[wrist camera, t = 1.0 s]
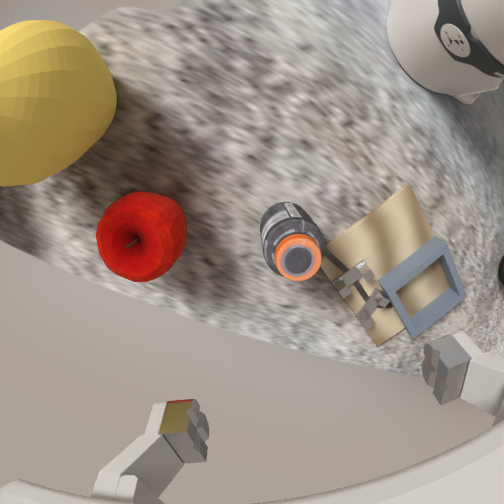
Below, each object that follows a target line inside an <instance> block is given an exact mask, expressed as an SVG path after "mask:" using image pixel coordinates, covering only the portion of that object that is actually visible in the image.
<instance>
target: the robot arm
mask: <svg viewBox="0 0 504 504" xmlns="http://www.w3.org/2000/svg"><path fill="white" fill-rule="evenodd" d="M389 2H390V9H389V13H388V16H387V23H386V28H387V36H388V40H389V43H390V46H391V49H392V51H393V53H394V55H395V57H396V58H397V60H398V62H399V63H400V65H401V66H402V67H403V69H404V70H405V71H406V72H407V73H408V74H409V75H410V76H411V77H412V78H413V79H414V80H415V81H416V82H418V83H419V84H420V85H422V86H423V87H425V88H427V89H429V90H431V91H433V92H436V93H440V94H446V95H450V96H453V97H454V98H456V99H457V100H458V101H460V102H461V103H463V104H465V105H469V104H473V103H474V102H475V100H476V99H477V98H478V96H479V95H480V94H481V92H487V91H492V90H496V89H498V88H499V85H500V84H501V83H502V81H503V80H504V0H389ZM423 353H424V354H425V355H426V357H425V359H424V360H423V362H422V372H423V377H424V379H425V381H426V383H427V384H428V385H429V386H431V387H434V391H433V394H434V396H435V397H436V399H437V400H438V402H439V403H440V405H442V404H445V403H447V402H450V401H452V400H454V399H457V398H459V397H460V398H461V399H463V400H465V401H466V402H468V403H470V404H472V405H474V406H476V407H478V408H480V409H482V410H483V411H485V412H487V413H489V414H491V415H493V416H495V417H496V419H495V420H494V423H493V425H492V427H491V428H489V429H488V430H486V431H484V432H482V433H481V434H479V435H477V436H475V437H473V438H471V439H469V440H467V441H466V442H463V443H461V444H460V445H458V446H455V447H453V448H451V449H449V450H447V451H445V452H443V453H441V454H438V455H436V456H434V457H432V458H429V459H427V460H424V461H422V462H420V463H417V464H415V465H412V466H410V467H407V468H404V469H401V470H399V471H396V472H393V473H390V474H387V475H385V476H381V477H378V478H375V479H372V480H368V481H365V482H362V483H358V484H355V485H351V486H348V487H344V488H340V489H336V490H332V491H327V492H323V493H318V494H314V495H309V496H303V497H297V498H291V499H286V500H278V501H271V502H262V503H253V504H504V357H502V356H498V355H495V354H492V353H488V352H486V353H483V352H482V351H481V350H480V349H479V348H478V347H477V346H476V344H475V343H474V342H473V341H472V340H471V339H470V338H469V337H468V336H467V335H466V334H465V333H464V332H463V331H462V330H458V331H456V332H453V333H451V334H449V335H446V336H444V337H441V338H439V339H436V340H434V341H431V342H429V343H426V344H425V346H424V352H423ZM199 409H200V405H199V403H198V401H197V400H196V399H189V400H176V401H165V402H156V403H155V404H154V405H153V408H152V411H151V414H150V418H149V421H148V424H147V428H146V431H145V435H141V436H139V437H138V438H137V439H136V440H135V441H134V442H133V443H132V444H130V445H129V446H128V447H127V448H126V449H125V450H124V451H123V452H122V453H120V454H119V455H118V456H117V457H116V458H115V459H114V460H112V461H111V462H110V463H109V464H108V465H106V466H105V467H104V468H103V469H102V470H101V471H100V472H99V475H98V477H97V481H96V484H95V486H94V489H93V492H92V495H91V497H87V496H82V495H77V494H72V493H68V492H63V491H59V490H55V489H51V488H47V487H44V486H40V485H37V484H34V483H30V482H27V481H24V480H14V481H12V482H10V483H8V484H7V485H5V486H3V487H2V488H0V504H164V503H163V502H162V501H161V500H160V499H159V498H158V497H159V496H160V495H161V494H162V492H163V491H164V490H165V488H166V487H167V486H168V485H169V483H170V482H171V481H172V480H173V478H174V477H175V476H176V474H177V473H178V472H179V470H180V469H181V468H182V466H183V465H184V464H183V463H196V462H206V459H207V449H208V447H207V445H206V444H205V441H206V440H207V439H208V437H209V426H208V422H207V418H206V416H205V414H204V413H202V412H200V411H199Z"/></svg>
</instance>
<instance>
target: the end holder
mask: <svg viewBox="0 0 504 504" xmlns="http://www.w3.org/2000/svg"><path fill="white" fill-rule="evenodd" d="M437 259H438V260H439V263H440V265H441V267H442V270H443V272H444V274H445V277H446V279H447V282H448V284H449V288H448V289H447V290H445V291H444V292H443V293H442V294H440V295H439V296H438V297H437V298H435V299H434V300H433V301H432V302H430V303H429V304H428V305H426V306H425V307H424V308H423V309H421V310H420V311H419V312H417V313H416V314H415V315H413V316H412V317H411V318H410V317H409V315H408V314H407V312H406V310H405V308H404V306H403V304H402V303H401V301H400V299H399V297H398V295H397V294H396V292H395V291H397V290H398V289H400V288H401V287H402V286H403V285H405V284H406V283H407V282H409V281H410V280H411V279H413V278H414V277H415V276H417V275H418V274H419V273H420V272H422V271H423V270H424V269H425V268H427V267H428V266H429V265H430V264H432V263H433V262H434V261H435V260H437ZM377 281H378V282H379V284H380V286H381V287H382V289H383V291H384V292H385V294H386V296H387V297H388V298H389V300H390V302H391V304H392V306H393V308H394V309H395V311H396V313H397V314H398V316H399V318H400V320H401V321H402V323H403V325H404V327H405V328H406V330H407V331H408V333H409V334H410V335H411V337H412V338H413V339H414V338H415V337H416V336H418V335H419V334H420V333H422V332H423V331H424V330H426V329H427V328H428V327H430V326H431V325H432V324H434V323H435V322H436V321H437V320H439V319H440V318H441V317H443V316H444V315H445V314H446V313H448V312H449V311H450V310H451V309H452V308H454V307H455V306H456V305H457V304H459V303H460V302H461V301H462V300H463V299H464V298H466V294H465V291H464V288H463V285H462V282H461V279H460V277H459V274H458V271H457V269H456V266H455V264H454V261H453V258H452V256H451V253H450V251H449V249H448V246H447V244H446V243H445V242H443V241H442V240H440V239H439V238H437V237H436V236H434V237H433V238H432V239H430V240H429V241H428V242H427V243H426V244H424V245H423V246H422V247H421V248H419V249H418V250H417V251H415V252H414V253H413V254H412V255H410V256H409V257H408V258H406V259H405V260H404V261H403V262H401V263H400V264H399V265H397V266H396V267H395V268H393V269H392V270H391V271H389V272H388V273H387V274H385V275H384V276H383V277H381V278H380V279H379V280H377Z"/></svg>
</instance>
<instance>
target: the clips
mask: <svg viewBox="0 0 504 504" xmlns="http://www.w3.org/2000/svg"><path fill="white" fill-rule="evenodd" d="M362 276H363V277H364V278H365V280H366V281H369V280H370V279H372V278H373V277H374V276H375V275H374V274H373V272H372V270H371V269H370V268H369V266H368V265H367V264H366V262H365V261H364V260H363V259H362V260H361V261H360V262H358V263H357V264H355V265H354V266H353V267H351V268H350V269H349V270H348V271H346V272H345V273H343V274H341V275H340V276H339V277H337V278H336V279H334V280H333V281H332V282H333V284H334V285H335V286H336V288H337V290H338V292H339V293H340V295H341V296H342V297H343V298H345V297H346V296H348V295H349V294H351V291H350V290H349V288H348V286H350V285H351V284H353V283H354V282H355V281H357V280H358V279H360V278H361V277H362ZM389 301H390V300H389V298H388V297H387V296H386V295H385V292H384V291H382V290H380V289H378V288H376V287H375V288H374V290H373V291H372V293H371V294H370V296H369V298H368V299H367V301H366V302H365V303H364V304H363V306H362V307H361V309H360V310H359V311H358V313H357V314H356V318H358V319H359V321H360V322H361V324H362V326H363V327H365V328H368V329H370V328H371V326H372V325H373V324H374V320H373V319H372V317H371V314H372V313H373V311H374V310H375V309H376V307H377V306H378V305H380V306H382V307H384V308H385V307H386V306H387V304H388V303H389Z"/></svg>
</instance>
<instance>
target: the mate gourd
mask: <svg viewBox="0 0 504 504" xmlns="http://www.w3.org/2000/svg"><path fill="white" fill-rule="evenodd" d="M499 277H500V280H501V281H502V283H503V285H504V256H503V258H502V260H501V262H500V266H499Z"/></svg>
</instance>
